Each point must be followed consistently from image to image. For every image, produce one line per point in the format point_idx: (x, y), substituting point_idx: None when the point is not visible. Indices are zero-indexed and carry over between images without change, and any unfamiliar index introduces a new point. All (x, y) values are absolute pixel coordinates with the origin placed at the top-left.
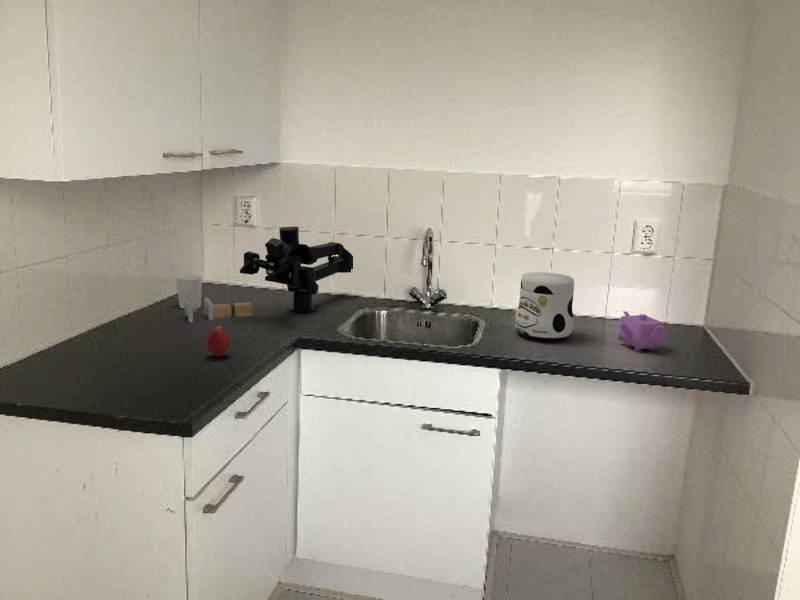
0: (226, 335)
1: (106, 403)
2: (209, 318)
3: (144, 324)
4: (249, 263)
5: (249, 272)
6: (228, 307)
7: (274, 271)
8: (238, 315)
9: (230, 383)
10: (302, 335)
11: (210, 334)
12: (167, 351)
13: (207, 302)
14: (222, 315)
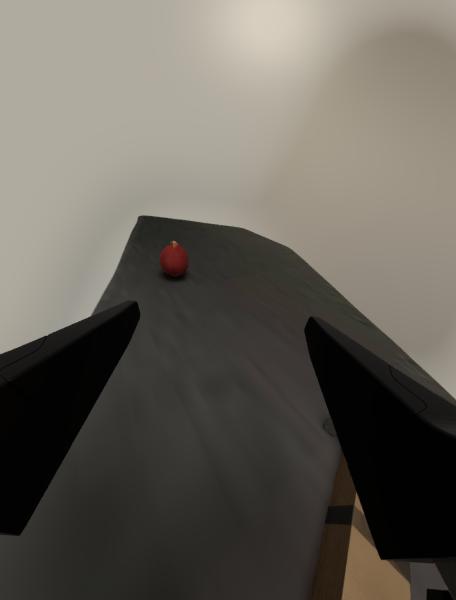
0: (163, 250)
1: (197, 225)
2: (329, 418)
3: None
4: (392, 394)
5: (346, 439)
6: (353, 493)
7: (55, 349)
8: (324, 537)
9: (132, 240)
10: None
11: (184, 250)
12: (236, 278)
13: None
14: (340, 473)
